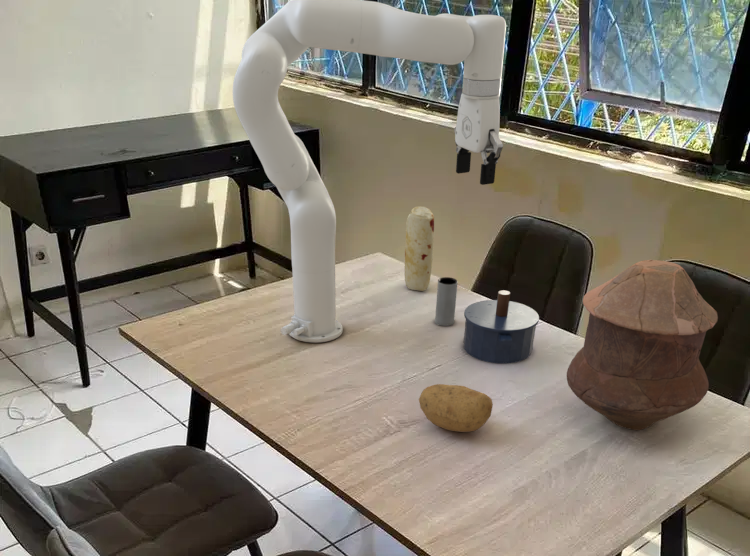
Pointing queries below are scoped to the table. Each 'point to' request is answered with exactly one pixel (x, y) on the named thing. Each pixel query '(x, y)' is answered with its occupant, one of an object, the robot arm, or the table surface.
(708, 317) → the pottery vessel
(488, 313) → the lid
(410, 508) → the table surface
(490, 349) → the pot
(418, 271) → the food model
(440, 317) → the grey tube
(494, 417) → the table surface
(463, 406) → the potato
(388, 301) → the table surface
